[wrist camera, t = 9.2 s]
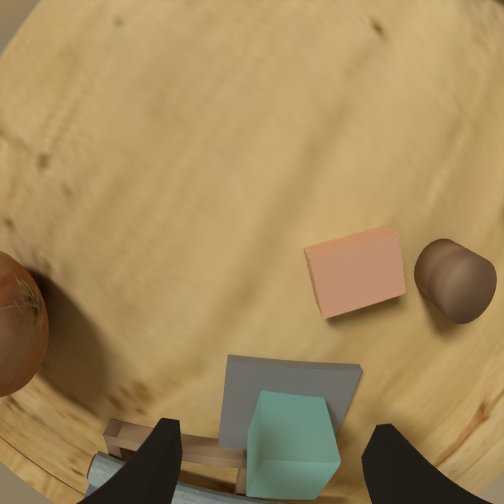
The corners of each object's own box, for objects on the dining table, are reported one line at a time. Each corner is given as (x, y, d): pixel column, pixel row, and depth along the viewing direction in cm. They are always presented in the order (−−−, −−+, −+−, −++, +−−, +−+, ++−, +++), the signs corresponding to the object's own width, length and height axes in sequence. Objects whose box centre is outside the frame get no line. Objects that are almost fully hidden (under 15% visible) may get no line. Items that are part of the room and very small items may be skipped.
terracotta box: (381, 224, 18) (398, 234, 16) (389, 278, 19) (405, 293, 17) (302, 247, 18) (309, 259, 16) (315, 300, 19) (323, 319, 17)
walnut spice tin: (470, 249, 18) (505, 269, 14) (446, 301, 19) (476, 329, 15) (429, 230, 18) (465, 248, 14) (404, 287, 19) (433, 316, 15)
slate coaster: (359, 364, 20) (362, 370, 20) (326, 446, 23) (328, 453, 22) (228, 354, 20) (227, 361, 19) (218, 440, 23) (217, 447, 22)
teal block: (324, 397, 20) (341, 462, 14) (305, 438, 21) (314, 499, 16) (261, 390, 20) (262, 458, 14) (247, 432, 21) (246, 496, 15)
